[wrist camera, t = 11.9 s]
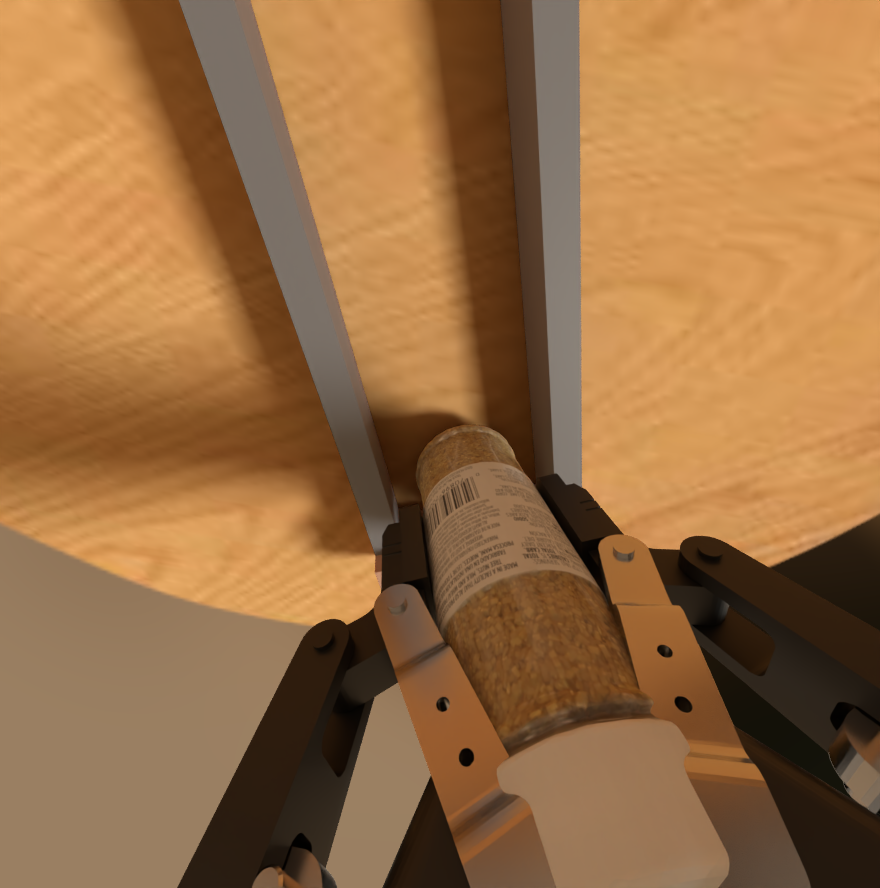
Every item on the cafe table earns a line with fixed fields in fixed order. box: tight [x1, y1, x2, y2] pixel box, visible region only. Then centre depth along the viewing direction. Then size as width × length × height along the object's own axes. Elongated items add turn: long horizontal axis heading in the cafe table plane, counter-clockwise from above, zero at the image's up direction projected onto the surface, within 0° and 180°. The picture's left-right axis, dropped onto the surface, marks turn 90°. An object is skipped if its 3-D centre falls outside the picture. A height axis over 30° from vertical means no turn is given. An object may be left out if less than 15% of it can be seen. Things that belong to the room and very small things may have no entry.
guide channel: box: [179, 0, 582, 588], centre depth 13 cm, size 22×9×4 cm, turn 10°
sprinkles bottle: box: [416, 425, 730, 888], centre depth 11 cm, size 5×5×13 cm
